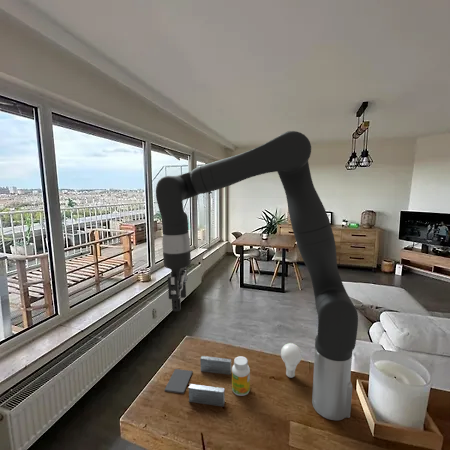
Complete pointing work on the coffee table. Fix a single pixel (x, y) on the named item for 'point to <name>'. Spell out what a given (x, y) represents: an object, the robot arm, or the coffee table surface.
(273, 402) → the coffee table surface
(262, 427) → the coffee table surface
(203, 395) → the grey bricks
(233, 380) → the supplement bottle
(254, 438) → the coffee table surface
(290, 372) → the lightbulb
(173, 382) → the gray rectangular block
